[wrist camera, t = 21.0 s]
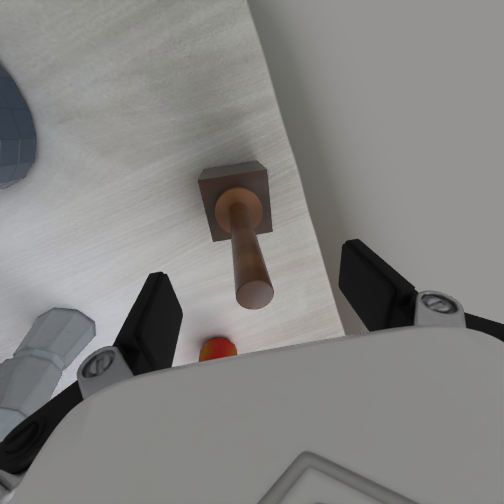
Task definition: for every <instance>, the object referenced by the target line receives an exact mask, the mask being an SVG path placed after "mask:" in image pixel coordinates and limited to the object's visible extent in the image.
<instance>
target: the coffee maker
mask: <svg viewBox="0 0 504 504" xmlns="http://www.w3.org/2000/svg"><path fill="white" fill-rule="evenodd" d="M95 335H96V333H95V322H94V321H93V320H91V319H90V318H88V317H87V316H85V315H84V314H83V313H81V312H80V311H78V310H71V309H62V308H53V309H51V310H49V311H48V312H46V313H44V314H43V315H41V316H39V318H38V319H37V321H36V322H35V323H34V325H33V326H32V328H31V329H30V331H29V332H28V334H27V335H26V337H25V338H24V339H23V341H22V342H21V344H20V345H19V347H18V348H17V350H16V351H15V352H14V354H13V357H14V358H11V359H6V360H5V361H4V362H3V363H1V364H0V444H1V442H2V441H3V440H4V438H5V437H6V436H7V435H8V434H9V433H10V432H11V431H12V429H14V428H15V427H16V426H17V425H18V424H20V423H21V422H22V421H23V420H25V419H26V418H27V417H29V416H30V415H31V414H33V413H34V412H35V411H37V410H38V409H39V408H41V407H42V406H43V405H45V404H46V403H47V402H49V400H50V398H51V396H52V394H53V392H54V390H55V388H56V386H57V384H58V382H59V380H60V378H61V376H62V374H63V373H62V372H61V371H63V370H65V369H66V368H67V367H68V366H69V365H70V364H71V363H72V361H73V360H74V359H75V358H76V357H77V356H78V355H79V353H80V352H81V351H82V350H83V349H84V348H85V347H86V345H87V344H88V343H89V342H90V341H91V340H92V339H93V337H94V336H95Z"/></svg>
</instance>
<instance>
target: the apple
mask: <svg viewBox="0 0 504 504" xmlns="http://www.w3.org/2000/svg"><path fill="white" fill-rule="evenodd" d="M235 355H237V349H236V347H235V345H234V344H233V343H231V342H230V341H229V340H227V339H225V338H213V339H211V340H210V341H208V342H207V343H206V344H205V345H203V347H202V348H201V350H200V356H199V362H202V361H208V360H213V359H218V358H224V357H229V356H235Z"/></svg>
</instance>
